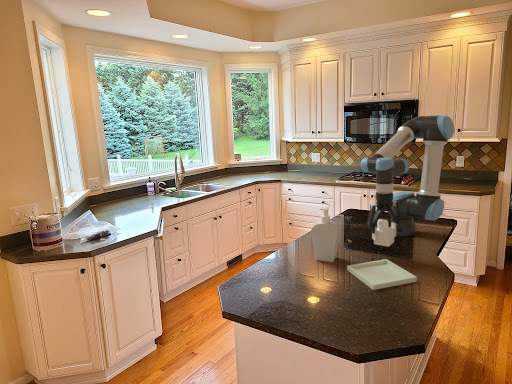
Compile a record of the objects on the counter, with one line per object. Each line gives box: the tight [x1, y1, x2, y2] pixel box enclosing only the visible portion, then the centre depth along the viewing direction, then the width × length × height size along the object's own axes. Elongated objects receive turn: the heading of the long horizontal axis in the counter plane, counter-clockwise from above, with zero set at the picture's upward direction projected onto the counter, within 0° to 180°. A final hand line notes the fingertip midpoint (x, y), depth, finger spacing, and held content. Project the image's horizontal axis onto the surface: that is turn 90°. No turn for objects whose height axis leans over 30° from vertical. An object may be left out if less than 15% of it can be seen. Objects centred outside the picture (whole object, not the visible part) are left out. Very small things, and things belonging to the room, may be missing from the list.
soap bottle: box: [310, 204, 342, 263], centre depth 171 cm, size 12×10×26 cm
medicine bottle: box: [373, 217, 395, 248], centre depth 170 cm, size 7×7×12 cm
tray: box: [346, 258, 418, 291], centre depth 152 cm, size 20×20×2 cm
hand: (384, 237), depth 170 cm, fingers closed on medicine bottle, 10 cm apart
